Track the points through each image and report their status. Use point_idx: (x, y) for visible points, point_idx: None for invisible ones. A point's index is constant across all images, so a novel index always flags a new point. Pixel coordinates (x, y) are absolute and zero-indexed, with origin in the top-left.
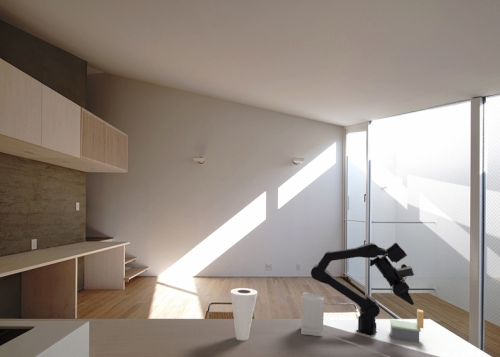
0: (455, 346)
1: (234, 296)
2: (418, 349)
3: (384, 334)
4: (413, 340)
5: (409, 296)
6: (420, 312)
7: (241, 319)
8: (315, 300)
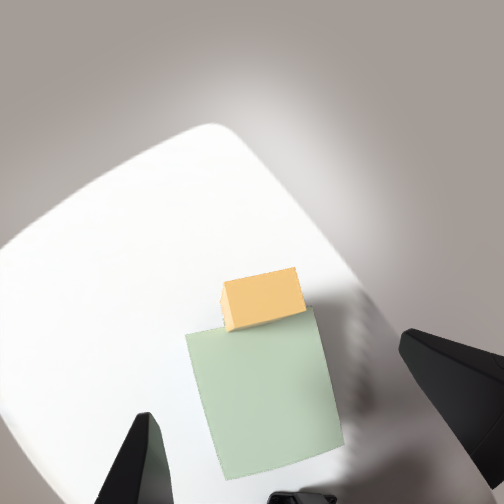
0: (210, 181)
1: None
2: (349, 310)
3: None
4: None
5: (495, 361)
6: (299, 292)
7: None
8: None
